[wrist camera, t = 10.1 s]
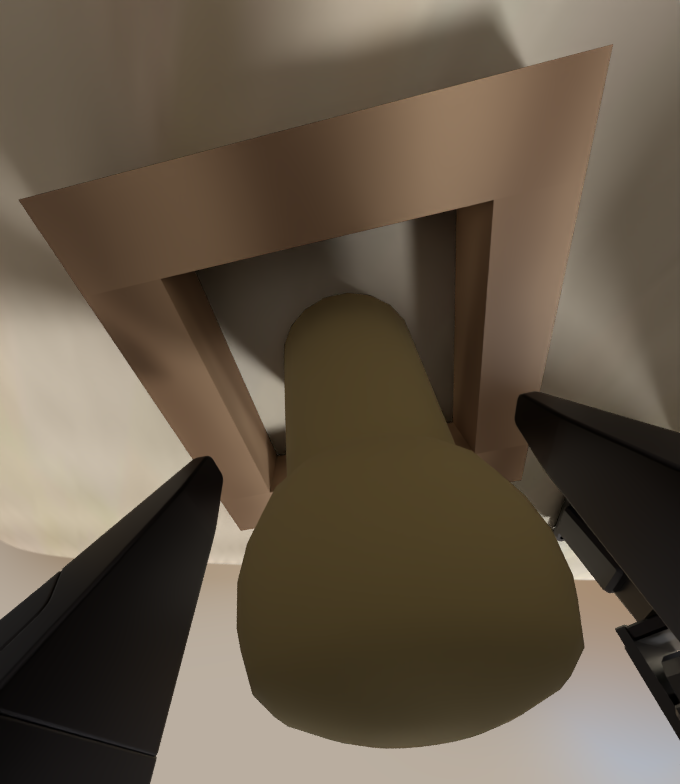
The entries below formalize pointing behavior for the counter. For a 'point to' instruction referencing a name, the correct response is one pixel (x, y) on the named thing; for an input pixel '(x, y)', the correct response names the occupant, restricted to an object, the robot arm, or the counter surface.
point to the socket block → (334, 219)
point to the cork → (394, 556)
